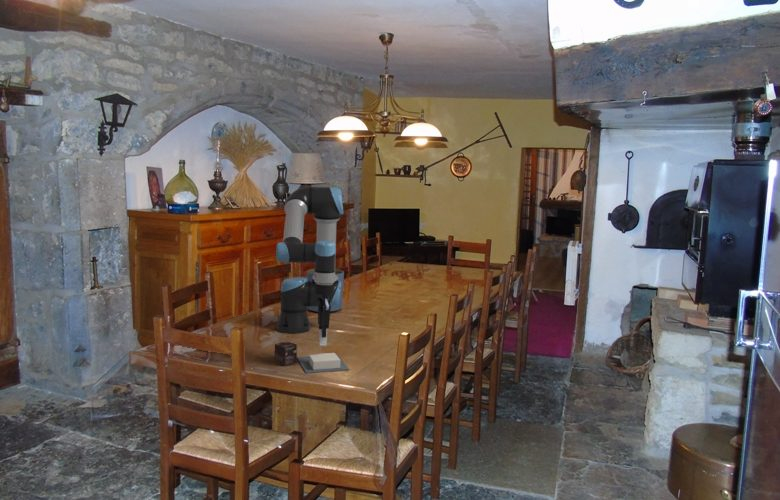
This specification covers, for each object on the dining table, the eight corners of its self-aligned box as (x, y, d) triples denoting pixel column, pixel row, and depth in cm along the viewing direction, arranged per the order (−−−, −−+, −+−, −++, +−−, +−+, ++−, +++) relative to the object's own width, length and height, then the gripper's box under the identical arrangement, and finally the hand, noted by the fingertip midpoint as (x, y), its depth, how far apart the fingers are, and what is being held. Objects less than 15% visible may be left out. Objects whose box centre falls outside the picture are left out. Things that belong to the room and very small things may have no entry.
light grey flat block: (308, 354, 232) (313, 361, 224) (334, 352, 235) (340, 360, 227) (308, 362, 233) (313, 370, 224) (334, 360, 236) (340, 368, 227)
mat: (297, 358, 239) (297, 357, 238) (337, 355, 244) (337, 354, 244) (306, 373, 222) (306, 372, 222) (349, 370, 227) (349, 369, 227)
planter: (323, 316, 306) (324, 276, 303) (298, 309, 318) (298, 270, 316) (350, 310, 320) (351, 272, 317) (325, 303, 332) (326, 267, 330)
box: (284, 366, 228) (284, 347, 227) (273, 362, 232) (274, 343, 231) (296, 363, 233) (297, 344, 232) (286, 359, 237) (286, 340, 236)
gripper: (310, 280, 233) (309, 340, 237) (318, 286, 221) (316, 350, 224) (330, 279, 236) (328, 339, 239) (338, 286, 224) (336, 349, 227)
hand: (322, 344), depth 232 cm, fingers closed
